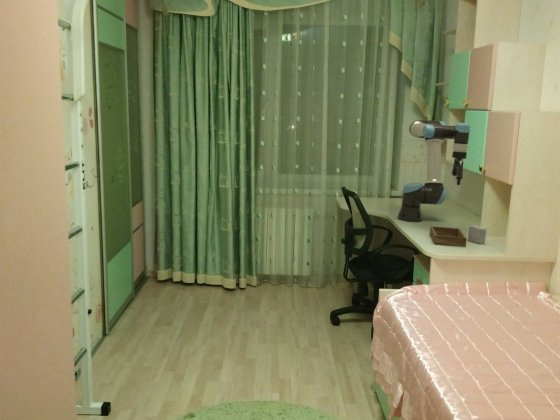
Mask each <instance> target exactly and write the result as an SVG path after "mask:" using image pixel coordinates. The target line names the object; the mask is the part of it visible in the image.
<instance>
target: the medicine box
mask: <svg viewBox="0 0 560 420" xmlns="http://www.w3.org/2000/svg"><path fill="white" fill-rule="evenodd" d="M468 229H469V230H468V237H467V242H470V243H475V244H477V245H484V244H486V237H487V236H486V235H487V228H485V227H483V226H482V227H481V226H478V225H470V226H469V227H468Z"/></svg>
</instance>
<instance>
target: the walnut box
mask: <svg viewBox="0 0 560 420" xmlns="http://www.w3.org/2000/svg"><path fill="white" fill-rule="evenodd" d="M429 236H430V237H429V238H431V241H432V243H433V244H434V245H435V246H437V245H438V246H449V247H457V246H458V248H459V247H460V248H466V247H467V246H466V245H467V241H468V237H467V236H466V235H465V234H464V233H463V231H462V229H460V228H456V227H447V226H446V227H443V226H430V227H429Z"/></svg>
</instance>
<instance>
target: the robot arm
mask: <svg viewBox="0 0 560 420" xmlns="http://www.w3.org/2000/svg"><path fill="white" fill-rule="evenodd" d="M470 128H471V124H469V123H465V122H464V123H463V122H457V123H456V124H455V125H447V124H446V122H445V121H441V120H431V119H429V120H428V119H418V120H415V121H413V122H411V124H410V125H409V128H408V131H409V133H410V135H411V136H412V137H414V138H418V139H424V142H425V143H426V144H427V148H426V149H427V151H426V152H427V154H426V155H427V156H426V160H427V161H426V181H425V182H424V183H421V182H410V183H406V184H404V186H403V189H402V198H401V199H402V200H401V207H400V210H398V211H399V212H398V214H397V219H398V220H400V221H404V222H411V223H413V222H415V223H417V222H421V221H422V220H423V216H422V211H421V205H434V206H436V205H442V204H444V202H445V200H446V197H447V193H448V191H447V187H446V186H444V183H443V182H442V179H441V177H442V144H443V143H444V142H445V140H453V144H452V145H453V146H452V155H451V156H452V158H453V159H454V160H453V161H454V162H453V166H452V170H451V171H452V172H451V184H450V187H451V188H454V192H455V191H456V192H460V191H461V185H462V179H463V171H464V170H463V169H464V161H463V160H465V159H467V153H468V148H469V147H470V146H469V139H470V138H469V137H470V131H471V129H470Z"/></svg>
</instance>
